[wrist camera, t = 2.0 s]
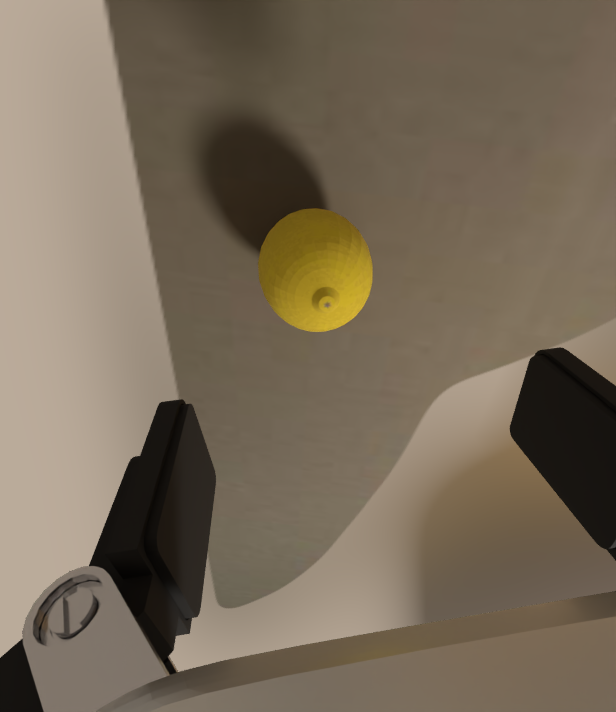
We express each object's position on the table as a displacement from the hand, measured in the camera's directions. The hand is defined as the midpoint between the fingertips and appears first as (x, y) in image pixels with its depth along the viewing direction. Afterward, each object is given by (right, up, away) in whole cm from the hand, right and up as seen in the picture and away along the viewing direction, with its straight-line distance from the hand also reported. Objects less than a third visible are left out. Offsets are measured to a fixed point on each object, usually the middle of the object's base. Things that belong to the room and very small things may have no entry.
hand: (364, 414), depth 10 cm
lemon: (-2, +8, +11) cm, 14 cm away
